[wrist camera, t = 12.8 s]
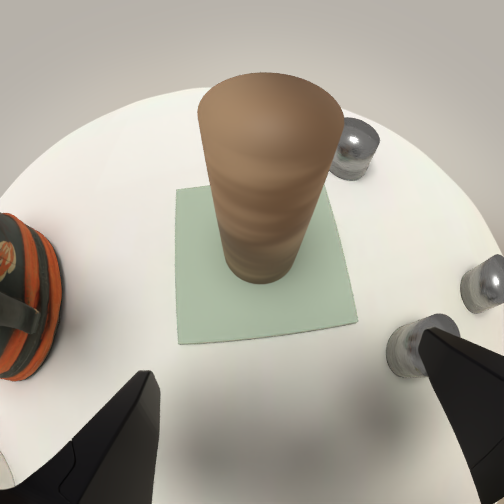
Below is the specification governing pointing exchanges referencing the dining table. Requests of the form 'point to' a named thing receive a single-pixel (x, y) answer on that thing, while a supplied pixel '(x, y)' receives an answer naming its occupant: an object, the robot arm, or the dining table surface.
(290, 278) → the mat
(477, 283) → the cylinder
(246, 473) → the dining table surface
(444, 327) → the cylinder
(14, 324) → the beer stein
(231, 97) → the walnut post
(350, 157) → the cylinder
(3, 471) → the cylindrical container
